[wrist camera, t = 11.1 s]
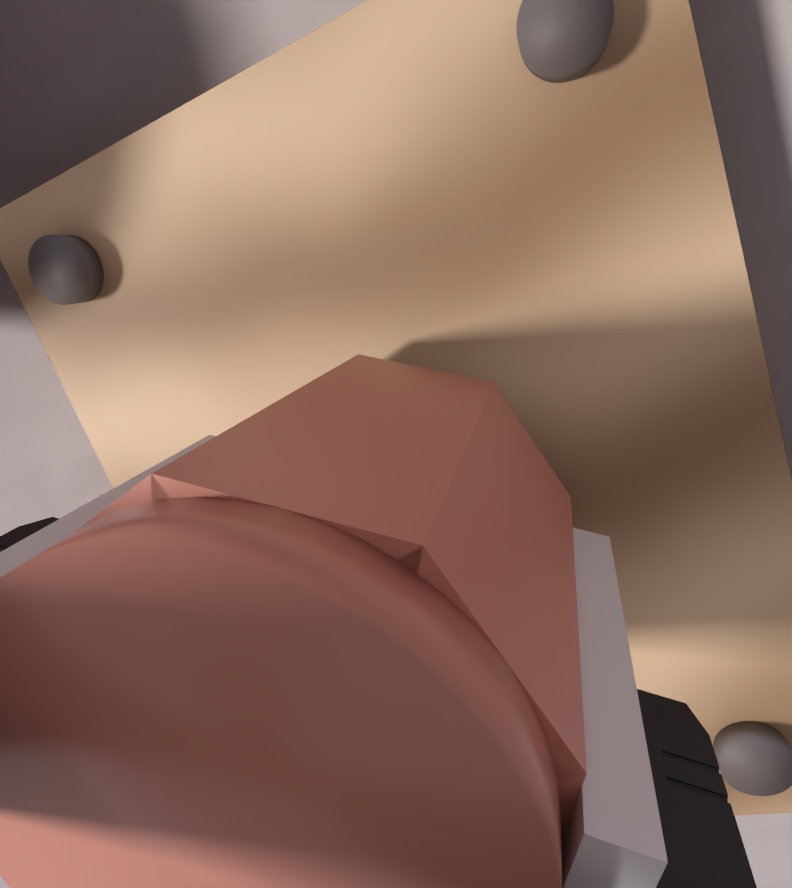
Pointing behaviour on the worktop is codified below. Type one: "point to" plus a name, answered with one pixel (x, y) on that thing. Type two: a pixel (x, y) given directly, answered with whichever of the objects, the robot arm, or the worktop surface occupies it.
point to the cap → (305, 657)
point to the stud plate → (463, 297)
